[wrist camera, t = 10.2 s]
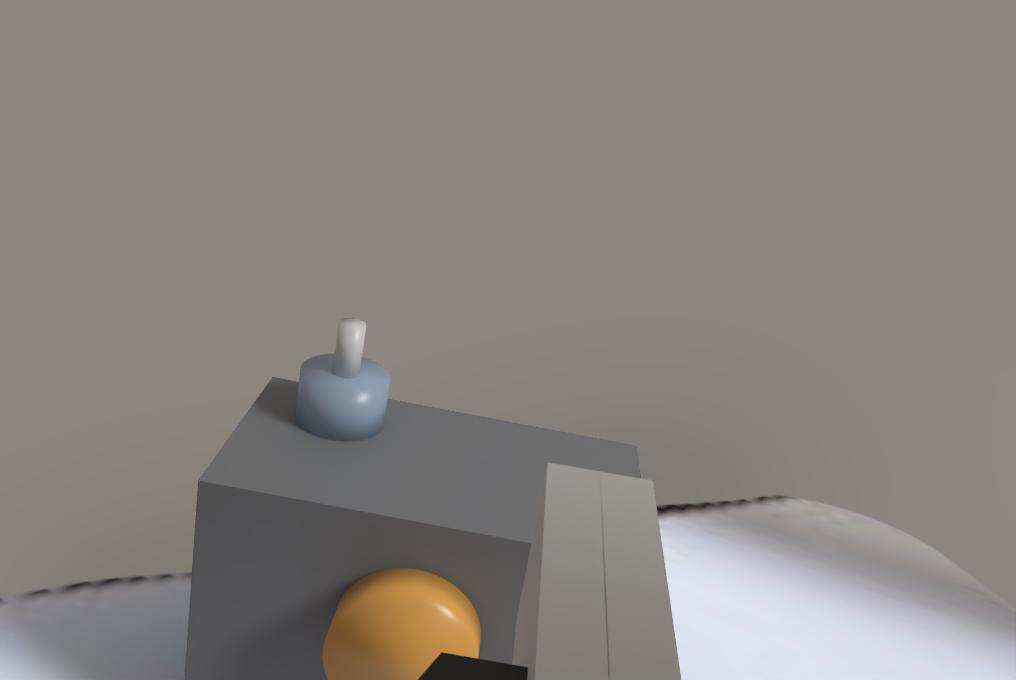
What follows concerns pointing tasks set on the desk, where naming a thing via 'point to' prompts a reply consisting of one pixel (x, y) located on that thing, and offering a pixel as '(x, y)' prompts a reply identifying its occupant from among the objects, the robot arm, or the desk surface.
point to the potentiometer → (343, 390)
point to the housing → (363, 526)
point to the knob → (398, 626)
